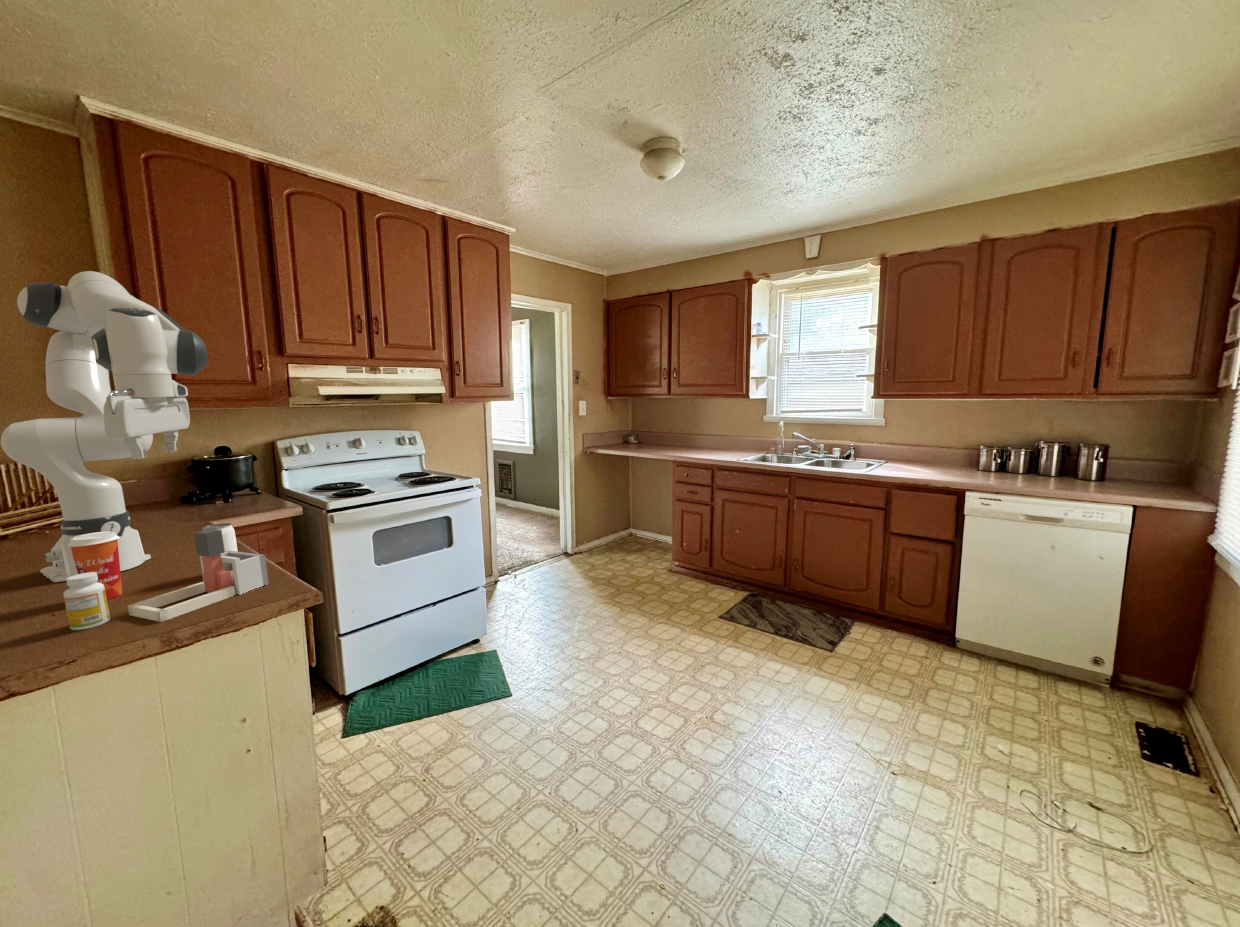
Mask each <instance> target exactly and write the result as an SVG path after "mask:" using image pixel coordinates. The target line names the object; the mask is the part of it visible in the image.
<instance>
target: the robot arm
mask: <svg viewBox="0 0 1240 927" xmlns="http://www.w3.org/2000/svg"><path fill="white" fill-rule="evenodd" d="M16 303H17V308H18V310H19V312H20V316H21V317H22V318H23V320H25V321H26V322H27V323H30V324H32V325H35V326H37V327H42V328H50V329H54V330H58V332H55V333H54V334H53V335H51V337H50V339H49V340H48V341H49V342H48V345H47V349H46V354H45V383H46V384H45V385H46V389H45V390H46V394H47V397H48V398H49V399H50V400H51V401H52V402H53V403H54V404H56V405H58V406H59V407H62V408H64V409H67V410H71V411H74V412H77V413H80V414H82V416H77V417H57V418H56V417H53V418H36V419H30V420H25V421H24V420H23V421H19V422H13V423H11V424H9V425H8V426H7V427H6V428H5V429H4V431H3V432H2V434H1V437H0V446H1V449H2V450H3V452H4V453H5V455H6V456H7V457H9V458H10V459H11V460H13V461H14V462H16V463H18V464H21V465H24V466H26V467H29V468H31V469H33V470H34V471H36V472H37V473H39V474H40V475H42V476H43V477H44V478H45V479H46V480H47V481H48V482H49V483H50V484H51V485H52V488H54V490H55V493H56V496H57V499H58V503H59V506H60V510H61V514H62V518H63V519H62V520H61V521H60V522H61V525H60V534H62V535H61V536H60V538H59V539H58V541H57V542H56V543H55V545H53V547H52V548H51V550H50V552H46V553H45V556H44V557H45V560H46V562H47V563H52V565H49V566H46V567H44V568H41V569H40V570H39V571H40V574H41V573H42V574H43V575H42V574H41V575H42V576H44V577H45V576H46V577H45V578H47V579H48V578H49V580H50V581H51V582H53V583H59V582H67V581H66V579H67V578H68V577H71V576H74V575H78V572H77V569H76V565H75V562H74V558H73V554H72V551H71V547H70V546H68V544H69V543H70V539H72V538H74V537H76V536H79V535H84V534H89V533H95V532H104V531H113V532H115V534H117V536H119V537H120V538H119V539H117V540H118V551H119V561H120V572H123V571H126V570H130V569H133V568H136V567H138V566H140V565H142V564H143V563H144V562H146V561H147V560H150V559H151V558H152V556H151V554H149V553H148V554H147V553H145V551H144V548H143V544H142V540H141V536H140V534H139V531H138V530H137V529H135V528H132V527H131V526H130V525H131V524H132V522H131V516H130V514H129V511H127V510H126V509H127V508H126V504H125V499H124V497H125V496H124V491H123V487H122V485H121V483H120V482H119V480H117V479H115V478H114V477H111V476H108V475H104V474H100V473H96V472H92V471H90V470H88V469H87V468H86V467H85V465H84V463H86V462H93V461H95V462H96V461H106V460H107V461H109V460H121V459H127V458H132V459H134V460H141V459H145V458H147V457H148V454H147V452H148V451H149V450H150V449H151V447H152V446H153V445H152V444H153V441H154V435H156V434H163V436H164V437H165V438H164V443H162V444H161V445H162V446H161V447H162V451H163V452H164V453H173V452H176V451H177V441H178V438H179V431H180V430H181V431H182V430H186V429H188V428H189V427H190V423H191V417H190V416H191V415H190V408H189V403H188V399H187V398H186V397H187V396H189V392H188V387H186V385H183V384H181V383H178V382H177V381H175V380H173V379H172V375H173V374H176V375H177V374H178V375H186V376H188V375H189V376H195V375H196V374H198V373H199V372H201V371H202V370H203V369H205V367H207V365H208V362H209V354H208V348H207V346H206V343H205V342H204V340H203V339H202V337H200V336H199V335H198V334H197V333H195V332H193V331H192V330H191V329H190V330H189V329H186V328H184V327H183V326H182V325H180V324H179V322H177V321H176V320H174V319H173V318H172V317H171V316H170V315H168V314H167V313H166V312H164V311H163V310H161V309H160V308H157V307H155V306H154V305H150V304H149V303H146V302H144V301H142V300H140V299H138V298H136V297H135V296H134V295H132V294H130V293H129V292H128V290H127V289H126V288H125V287H124V286H123V285H122V284H121V283H119V282H118V281H117V280H115V279H114V278H113V277H111V276H110V275H108V274H105V273H102V272H98V271H92V270H85V271H80V272H78V273H76V274H74V275H73V276H72V277H71V278H70V279H69V280H68V284H67V286H66V285H60V284H57V283H55V282H54V281H48V282H32V283H29V284H26V285H25V286H24V287H23V288H22V290H20V292H19V293H18V295H17V300H16ZM109 371H110V372H112V378H113V379H112V380H113V383H114V384H113V385H114V389H113V390H112V389H111V382H110V372H109Z"/></svg>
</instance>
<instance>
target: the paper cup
mask: <svg viewBox="0 0 1240 927" xmlns="http://www.w3.org/2000/svg"><path fill="white" fill-rule="evenodd" d="M119 538H120V537H119V536H117V534H115V532H113V531H104V532H95V533H89V534H84V535H79V536H76V537H74V538H72V539H70V543H69V544H68V546H70V547H71V551H72V554H73V558H74V562H75V565H76V569H77V572H78V574H82V573H89V572H96V573H97V576H98V580H97V583H102V584H103V585H104V587H105V592H106V597H107V601H109V600H111V599H115V598H117V597H120V596H122V594H123V587H122V586H123V585H122V575H121V574H122V573H121V572H122V571H120V561H119V551H118V540H117V539H119Z"/></svg>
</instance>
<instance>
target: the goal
mask: <svg viewBox="0 0 1240 927" xmlns="http://www.w3.org/2000/svg"><path fill="white" fill-rule="evenodd" d="M221 559H222V566H223V571H231V570H233V574H234V581H235V594H236V595H237V594H238V595H237V596H242V595H244V594H247V593H248V591H250V590H252V591H254V590H253V589H255V588H258V589H260V588H259V587H261V588H263V587H262V586H264V585H266V586H269V585H270V583H269V576H268V569H267V568H268V566H267V560H266V554H262V553H261V554H259V553H253V552H243V551H238V552H237V551H227V552H225V553H221ZM199 560H200V561H199V562H200V567H201V573H202V574H201V575H202V576H203V572H204V568H203V561H202V556H199ZM202 580H203V581H202V582H204V579H203V578H202ZM268 584H269V585H268ZM264 587H265V586H264ZM255 590H256V589H255ZM246 592H247V593H246ZM250 592H251V591H250ZM243 593H244V594H243Z"/></svg>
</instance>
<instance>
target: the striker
mask: <svg viewBox="0 0 1240 927" xmlns="http://www.w3.org/2000/svg"><path fill="white" fill-rule="evenodd" d="M193 534H194V541H195V549H196V554H197V556H199V557H200V556H202V561H203V568H204V572H203V575H202V580H203V579H204V585H205V591H206V594H208V593H211V592H214V591H217V590H220V589H223V588H226V587H229V586H232V579H231V572H230V571H223V566H222V559H221V553H225V551H224V544H223V538H222V531H221V530H215V529H207V530H203V529H202V530H200V531H195V532H193Z"/></svg>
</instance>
